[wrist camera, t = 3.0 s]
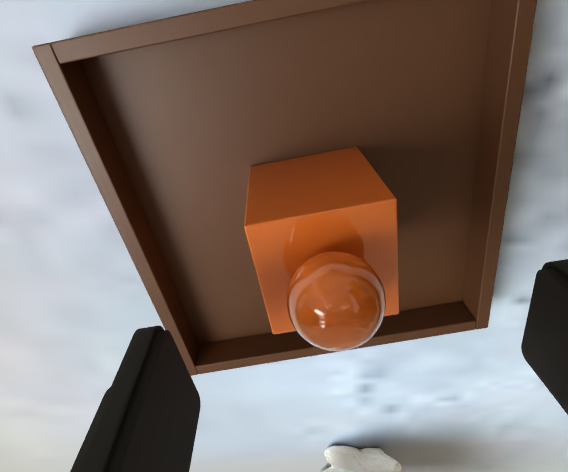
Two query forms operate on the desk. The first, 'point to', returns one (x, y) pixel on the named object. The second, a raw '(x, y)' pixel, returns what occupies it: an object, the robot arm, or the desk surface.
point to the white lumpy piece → (359, 460)
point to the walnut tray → (300, 148)
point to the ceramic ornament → (324, 246)
